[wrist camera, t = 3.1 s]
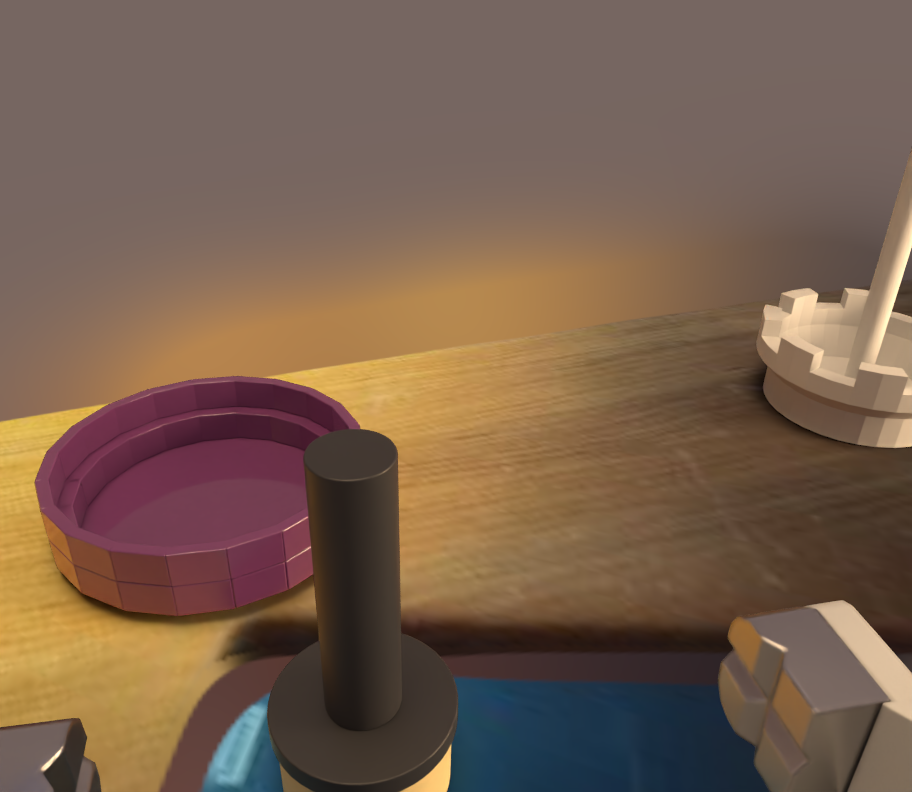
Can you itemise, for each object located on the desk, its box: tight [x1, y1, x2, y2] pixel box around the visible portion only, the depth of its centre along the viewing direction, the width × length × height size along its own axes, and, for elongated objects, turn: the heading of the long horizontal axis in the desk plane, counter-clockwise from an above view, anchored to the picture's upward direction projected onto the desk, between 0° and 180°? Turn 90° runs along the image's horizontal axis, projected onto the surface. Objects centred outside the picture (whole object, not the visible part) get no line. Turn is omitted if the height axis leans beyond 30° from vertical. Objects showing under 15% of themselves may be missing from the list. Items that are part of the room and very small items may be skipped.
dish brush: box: [267, 429, 458, 792], centre depth 26 cm, size 6×6×14 cm
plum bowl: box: [35, 376, 360, 616], centre depth 41 cm, size 15×15×4 cm
